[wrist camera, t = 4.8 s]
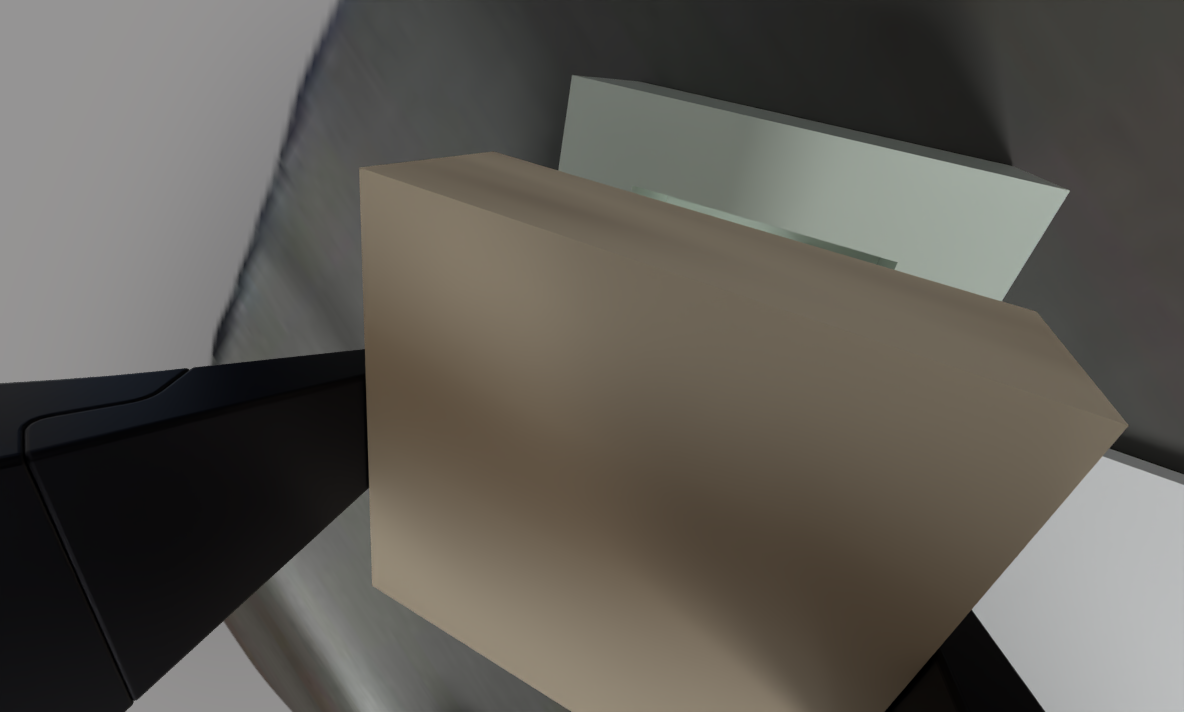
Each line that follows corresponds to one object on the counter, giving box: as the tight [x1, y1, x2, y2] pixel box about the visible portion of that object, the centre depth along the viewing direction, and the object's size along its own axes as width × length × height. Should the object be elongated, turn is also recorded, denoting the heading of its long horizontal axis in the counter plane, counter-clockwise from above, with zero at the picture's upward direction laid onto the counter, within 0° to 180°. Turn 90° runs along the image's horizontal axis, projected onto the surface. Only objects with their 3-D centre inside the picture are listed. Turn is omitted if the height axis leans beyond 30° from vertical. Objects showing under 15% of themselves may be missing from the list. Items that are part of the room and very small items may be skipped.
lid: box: [359, 152, 1129, 712], centre depth 7 cm, size 7×7×2 cm
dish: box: [558, 75, 1070, 301], centre depth 14 cm, size 9×9×4 cm
